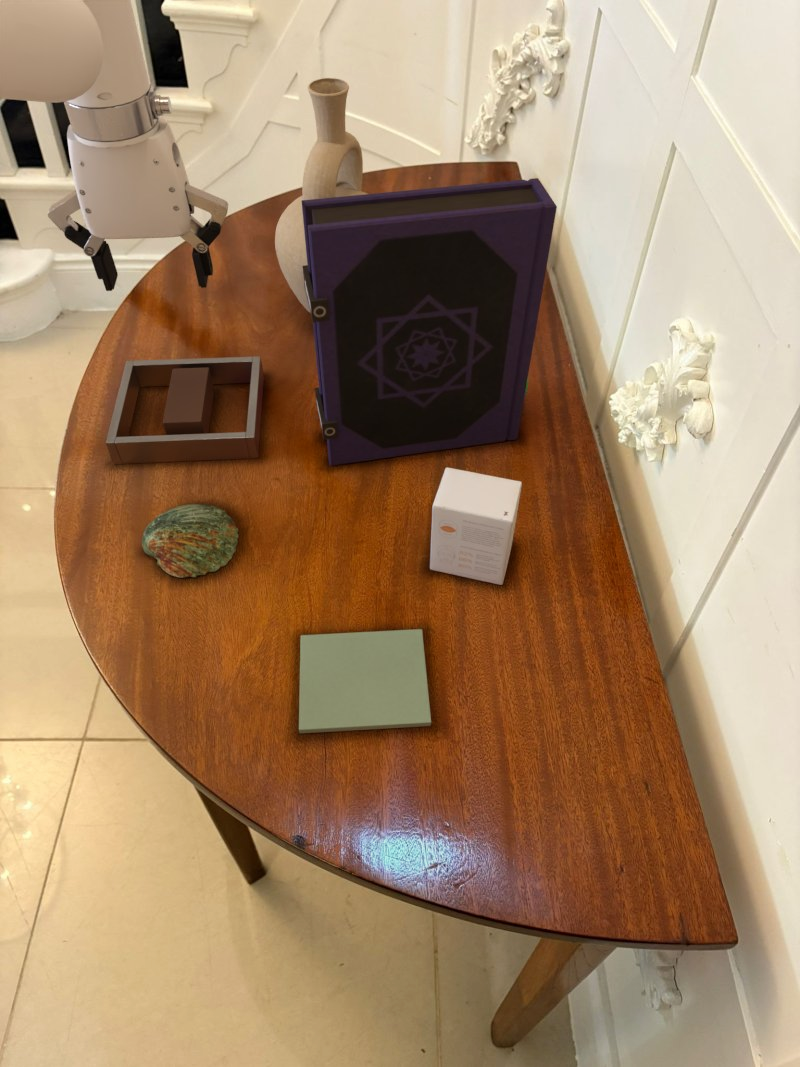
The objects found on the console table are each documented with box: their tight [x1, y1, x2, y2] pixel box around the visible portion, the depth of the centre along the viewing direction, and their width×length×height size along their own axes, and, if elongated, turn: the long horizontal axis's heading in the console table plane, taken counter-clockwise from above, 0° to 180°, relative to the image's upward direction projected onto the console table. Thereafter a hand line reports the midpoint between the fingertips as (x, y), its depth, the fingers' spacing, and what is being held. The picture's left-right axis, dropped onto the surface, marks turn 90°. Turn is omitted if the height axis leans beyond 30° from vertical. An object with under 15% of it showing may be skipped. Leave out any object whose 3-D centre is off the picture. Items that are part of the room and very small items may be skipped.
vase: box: [274, 77, 368, 313], centre depth 100 cm, size 17×17×30 cm
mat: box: [298, 628, 432, 734], centre depth 74 cm, size 12×10×1 cm
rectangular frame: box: [105, 355, 265, 465], centre depth 96 cm, size 17×15×4 cm
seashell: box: [141, 503, 240, 579], centre depth 83 cm, size 10×4×10 cm
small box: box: [429, 467, 523, 586], centre depth 79 cm, size 8×6×10 cm
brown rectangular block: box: [162, 367, 215, 435], centre depth 95 cm, size 4×10×4 cm, turn 4°
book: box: [301, 177, 558, 467], centre depth 83 cm, size 24×6×30 cm, turn 102°
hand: (158, 281), depth 82 cm, fingers open, 9 cm apart
